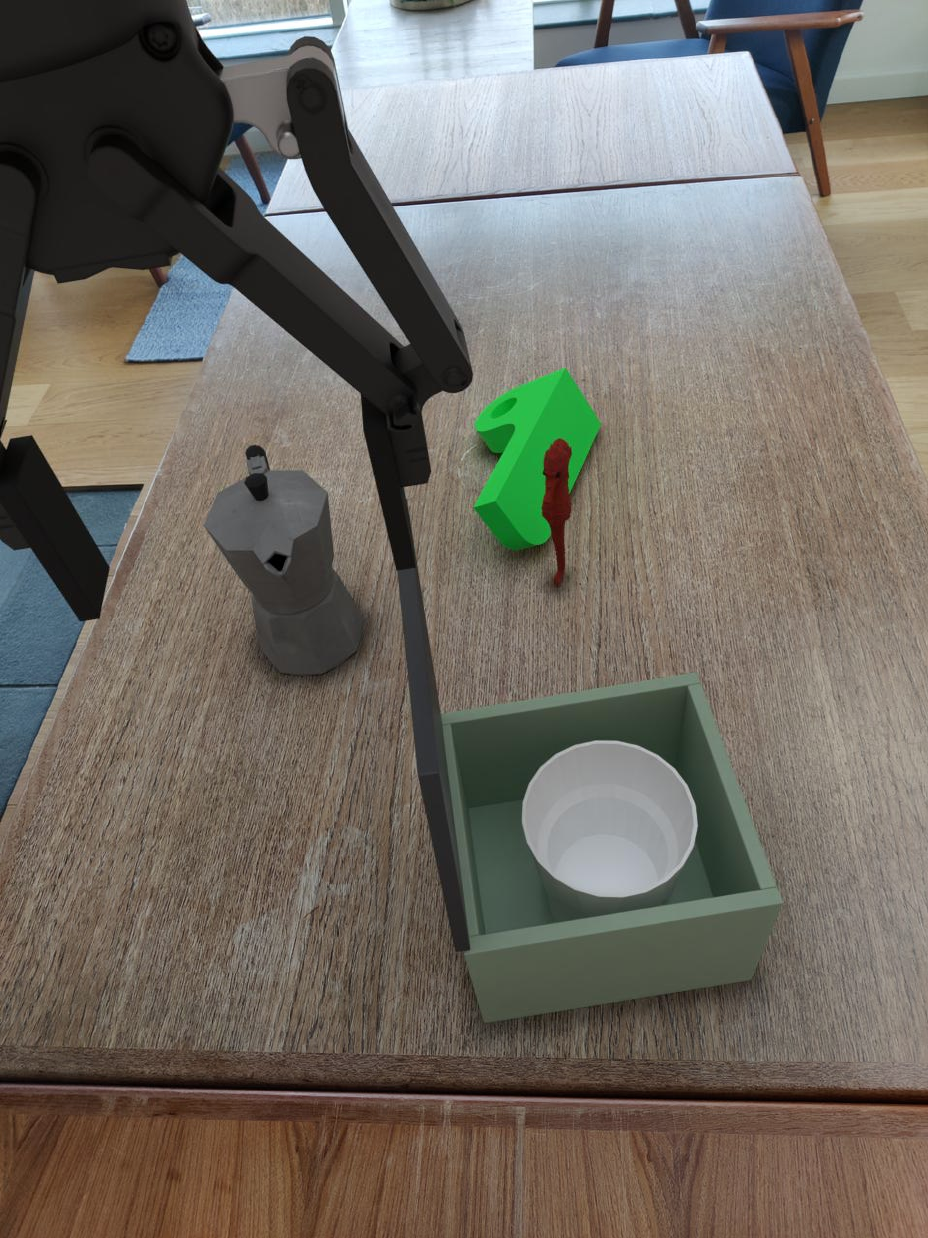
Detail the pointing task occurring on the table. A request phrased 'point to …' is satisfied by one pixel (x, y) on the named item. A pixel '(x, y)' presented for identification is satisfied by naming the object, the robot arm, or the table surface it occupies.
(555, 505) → the toy
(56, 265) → the robot arm
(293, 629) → the coffeepot
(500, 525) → the bracket
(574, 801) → the cup
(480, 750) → the green box
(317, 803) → the table surface
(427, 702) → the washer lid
